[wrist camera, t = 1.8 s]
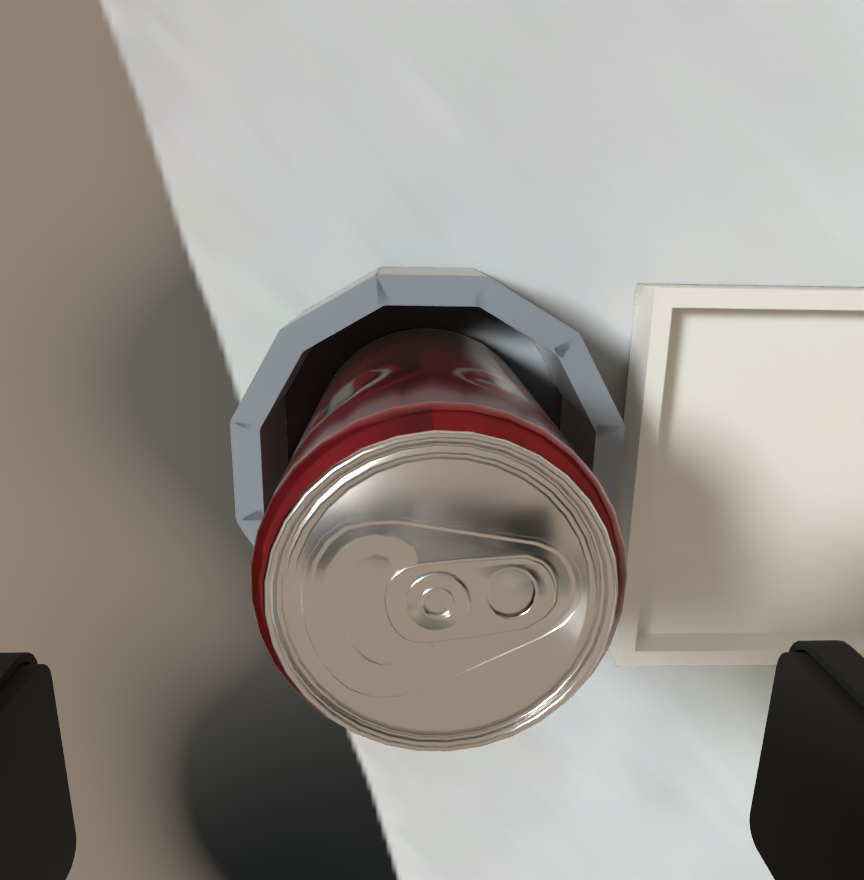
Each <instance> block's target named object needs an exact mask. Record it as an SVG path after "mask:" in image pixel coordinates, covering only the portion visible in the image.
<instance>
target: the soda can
mask: <svg viewBox="0 0 864 880" xmlns="http://www.w3.org/2000/svg"><path fill="white" fill-rule="evenodd" d="M626 581H627V565H626V552H625V541H624V538H623V535H622V531H621V528H620V525H619V521H618V518H617V515H616V512H615V509H614V507H613V505H612V503H611V502H610V500H609V498H608V496H607V495H606V493H605V491H604V489H603V487H602V486H601V484H600V482H599V480H598V479H597V477H596V476H595V475H594V474H593V472H592V471H591V470H590V468H589V467H588V466H587V465H586V463H585V462H584V461H583V460H582V458H581V457H580V456H579V455H578V453H577V452H576V451H575V449H574V448H573V447H572V446H571V444H570V443H569V442H568V441H567V439H566V438H565V437H564V436H563V434H562V433H561V432H560V430H559V429H558V428H557V427H556V425H555V424H554V423H553V422H552V420H551V419H550V418H549V417H548V415H547V414H546V413H545V411H544V410H543V409H542V408H541V406H540V405H539V404H538V403H537V401H536V400H535V399H534V398H533V396H532V395H531V394H530V392H529V391H528V390H527V389H526V387H525V386H524V385H523V384H522V382H521V381H520V380H519V379H518V377H517V376H516V375H515V373H514V372H513V371H512V370H511V369H510V368H509V367H508V365H507V364H506V363H505V362H504V361H503V360H502V359H501V358H500V357H499V356H498V355H497V354H495V353H494V352H493V351H491V350H490V349H489V348H487V347H486V346H485V345H483V344H482V343H480V342H477V341H475V340H473V339H471V338H469V337H467V336H465V335H463V334H459V333H454V332H450V331H446V330H442V329H425V328H418V329H411V330H405V331H398V332H395V333H392V334H389V335H387V336H384V337H381V338H378V339H376V340H374V341H373V342H371V343H369V344H368V345H366V346H365V347H363V348H361V349H360V350H358V351H357V352H356V353H355V354H354V355H353V356H351V357H350V358H349V359H348V360H347V361H346V362H345V363H344V364H343V365H342V366H341V367H340V369H339V370H338V371H337V373H336V374H335V376H334V377H333V378H332V380H331V381H330V383H329V385H328V387H327V389H326V391H325V393H324V395H323V397H322V399H321V401H320V403H319V404H318V406H317V408H316V410H315V412H314V414H313V416H312V418H311V420H310V422H309V424H308V426H307V428H306V430H305V432H304V434H303V436H302V438H301V440H300V442H299V444H298V446H297V448H296V450H295V452H294V454H293V456H292V458H291V460H290V462H289V464H288V466H287V468H286V470H285V472H284V474H283V476H282V478H281V480H280V482H279V484H278V486H277V488H276V490H275V492H274V494H273V496H272V498H271V501H270V503H269V505H268V507H267V510H266V512H265V514H264V516H263V519H262V521H261V523H260V525H259V528H258V530H257V535H256V540H255V545H254V550H253V555H252V560H251V599H252V603H253V607H254V611H255V616H256V620H257V624H258V628H259V631H260V634H261V636H262V638H263V640H264V643H265V645H266V647H267V649H268V651H269V653H270V655H271V657H272V659H273V661H274V663H275V665H276V667H277V668H278V669H279V670H280V672H281V673H282V674H283V676H284V677H285V678H286V680H287V681H288V682H289V683H290V685H291V686H292V687H293V689H294V690H295V691H296V692H297V693H298V694H299V695H300V696H302V697H303V698H304V699H305V700H306V701H307V702H308V703H309V704H311V705H312V706H313V707H314V708H315V709H316V710H317V711H319V712H320V713H321V714H323V715H324V716H326V717H328V718H329V719H331V720H333V721H335V722H336V723H338V724H340V725H341V726H343V727H345V728H346V729H348V730H350V731H352V732H353V733H355V734H358V735H361V736H363V737H366V738H369V739H371V740H374V741H377V742H380V743H382V744H385V745H390V746H396V747H401V748H406V749H412V750H417V751H453V750H460V749H466V748H473V747H480V746H484V745H487V744H490V743H493V742H496V741H499V740H502V739H505V738H508V737H511V736H513V735H515V734H517V733H519V732H521V731H523V730H525V729H527V728H529V727H531V726H533V725H534V724H536V723H538V722H540V721H542V720H543V719H544V718H546V717H547V716H548V715H550V714H551V713H552V712H553V711H555V710H556V709H557V708H559V707H560V706H561V705H563V704H564V703H565V702H566V701H567V700H568V699H570V698H571V697H572V696H573V695H574V694H575V693H576V691H577V690H578V689H579V688H580V687H581V686H582V685H583V684H584V683H585V681H586V680H587V679H588V678H589V677H590V676H591V675H592V674H593V673H594V671H595V669H596V668H597V666H598V664H599V663H600V661H601V659H602V658H603V656H604V655H605V653H606V651H607V650H608V648H609V646H610V645H611V642H612V639H613V637H614V634H615V631H616V628H617V625H618V623H619V620H620V617H621V614H622V610H623V603H624V596H625V588H626Z"/></svg>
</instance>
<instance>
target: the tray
mask: <svg viewBox="0 0 864 880" xmlns="http://www.w3.org/2000/svg"><path fill="white" fill-rule="evenodd" d="M624 425H625V429H624V439H623V450H622V460H621V471H620V481H619V492H618V502H617V513H616V515H617V518H618V521H619V525H620V528H621V531H622V535H623V538H624V541H625V552H626V565H627V581H626V588H625V596H624V603H623V610H622V614H621V617H620V620H619V623H618V625H617V628H616V631H615V634H614V637H613V639H612V642H611V645H610V646H609V648H608V650H609V652H610V654H611V656H612V658H613V660H614V662H615V664H616V666H747V665H777V662H778V659H779V657H780V655H781V654H782V653H785V652H789V649H790V647H791V646H792V645H793V643H795V642H797V641H811V640H840V641H844V642H846V643H847V644H849V645H850V646H851V647H853V648H854V649H855V650H856V651H857V652H858V653H859V654H860V655H861V656H862V657H864V287H825V286H763V285H701V284H640V283H637V286H636V296H635V307H634V317H633V328H632V338H631V349H630V359H629V370H628V381H627V391H626V402H625V412H624Z"/></svg>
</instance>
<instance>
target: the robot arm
mask: <svg viewBox="0 0 864 880" xmlns="http://www.w3.org/2000/svg"><path fill="white" fill-rule="evenodd" d="M72 813H73V812H72V806H71V800H70V793H69V787H68V780H67V773H66V767H65V760H64V754H63V747H62V741H61V734H60V728H59V721H58V715H57V708H56V702H55V695H54V689H53V682H52V676H51V672H50V669H49V668H48V666H46V665H45V664H37V660H36V658H35V657H34V655H33V654H30V653H28V652H27V653H25V652H24V653H0V880H65V879H66V878H67V876H68V873H69V871H70V869H71V866H72V863H73V859H74V856H75V850H76V832H75V826H74V819H73V814H72ZM750 830H751V834H752V838H753V841H754V844H755V846H756V848H757V850H758V852H759V853H760V855H761V857H762V859H763V860H764V862H765V864H766V865H767V867H768V869H769V870H770V872H771V874H772V876H773V877H774V879H775V880H864V657H862V656H861V655H860V654H859V653H858V652H857V651H856V650H855V649H854V648H853V647H851V646H850V645H849V644H847V643H846V642H844V641H840V640H811V641H797V642H795V643H793V645H792V646H791V647H790V649H789V652H785V653H782V654H781V655H780V657H779V659H778V662H777V667H776V672H775V678H774V683H773V689H772V694H771V700H770V706H769V711H768V717H767V722H766V728H765V733H764V739H763V745H762V750H761V756H760V761H759V767H758V772H757V778H756V784H755V789H754V795H753V800H752V806H751V812H750Z"/></svg>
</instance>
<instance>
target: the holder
mask: <svg viewBox="0 0 864 880" xmlns="http://www.w3.org/2000/svg"><path fill="white" fill-rule="evenodd" d="M384 305H402V306H469V307H480V308H482V309H484V310H485V311H487V312H488V313H490V314H492V315H493V316H495V317H497V318H498V319H500V320H501V321H503V322H505V323H506V324H508V325H510V326H511V327H513V328H515V329H516V330H518V331H519V332H521V333H523V334H524V335H526V336H528V337H529V338H531V339H532V340H533V341H534V343H535V345H536V347H537V349H538V351H539V353H540V354H541V356H542V358H543V360H544V362H545V364H546V366H547V368H548V370H549V372H550V374H551V376H552V378H553V380H554V382H555V384H556V386H557V388H558V390H559V391H560V393H561V395H562V409H561V423H560V432H561V433H562V434H563V436H564V437H565V438H566V439H567V441H568V442H569V443H570V444H571V446H572V447H573V448H574V449H575V451H576V452H577V453H578V455H579V456H580V457H581V458H582V460H583V461H584V462H585V463H586V465H587V466H588V467H589V468H590V470H591V471H592V472H593V474H594V475H595V476H596V477H597V479H598V480H599V482H600V484H601V486H602V487H603V489H604V491H605V493H606V495H607V496H608V498H609V500H610V502H611V503H612V505H613V507H614V509H615V512H616V513H617V502H618V492H619V481H620V471H621V460H622V450H623V439H624V429H625V425H624V422H623V420H622V418H621V416H620V414H619V412H618V410H617V408H616V406H615V404H614V402H613V400H612V398H611V396H610V394H609V392H608V390H607V388H606V386H605V383H604V381H603V379H602V377H601V375H600V373H599V371H598V369H597V367H596V365H595V363H594V361H593V359H592V357H591V355H590V353H589V351H588V349H587V347H586V345H585V343H584V341H583V339H582V337H581V335H580V334H579V333H578V332H577V331H575V330H574V329H572V328H570V327H569V326H567V325H566V324H564V323H562V322H561V321H559V320H558V319H556V318H554V317H553V316H551V315H550V314H548V313H546V312H545V311H543V310H542V309H540V308H538V307H537V306H535V305H534V304H532V303H530V302H529V301H527V300H526V299H524V298H522V297H521V296H519V295H518V294H516V293H514V292H513V291H511V290H510V289H508V288H506V287H505V286H503V285H502V284H500V283H498V282H497V281H495V280H494V279H492V278H490V277H489V276H487V275H485V274H483V273H481V272H479V271H477V270H475V269H472V268H434V267H382V268H381V267H380V268H378V269H376V270H375V271H373V272H371V273H369V274H368V275H366V276H364V277H362V278H361V279H359V280H357V281H355V282H354V283H352V284H350V285H349V286H347V287H345V288H343V289H342V290H340V291H338V292H336V293H335V294H333V295H331V296H329V297H328V298H326V299H324V300H322V301H321V302H319V303H317V304H316V305H314V306H312V307H310V308H309V309H307V310H305V311H303V312H302V313H301V314H300V315H298V316H297V317H296V318H294V319H293V320H292V321H291V322H289V323H288V324H287V325H285V326H284V327H283V328H281V330H280V331H279V332H278V334H277V336H276V338H275V340H274V342H273V344H272V345H271V347H270V349H269V351H268V353H267V355H266V356H265V358H264V360H263V362H262V364H261V366H260V367H259V369H258V371H257V373H256V375H255V377H254V378H253V380H252V382H251V384H250V386H249V388H248V389H247V391H246V393H245V395H244V397H243V399H242V401H241V402H240V404H239V406H238V408H237V410H236V412H235V413H234V415H233V417H232V419H231V422H230V428H231V429H230V430H231V445H232V462H233V477H234V494H235V511H236V520H237V523H238V525H239V526H240V527H241V529H242V530H243V532H244V533H245V535H246V536H247V538H248V539H249V541H250V542H251V543H252V545H253V546H254V545H255V540H256V535H257V530H258V528H259V525H260V523H261V521H262V519H263V516H264V514H265V512H266V510H267V507H268V505H269V503H270V501H271V498H272V496H273V494H274V492H275V490H276V488H277V486H278V484H279V482H280V480H281V478H282V476H283V474H284V472H285V470H286V468H287V466H288V444H287V419H286V393H287V391H288V389H289V387H290V386H291V384H292V382H293V380H294V378H295V377H296V375H297V373H298V371H299V369H300V368H301V366H302V364H303V362H304V360H305V359H306V357H307V355H308V353H309V351H310V350H311V348H312V346H314V345H315V344H317V343H319V342H321V341H322V340H324V339H326V338H328V337H329V336H331V335H333V334H335V333H336V332H338V331H340V330H342V329H343V328H345V327H347V326H349V325H350V324H352V323H354V322H356V321H357V320H359V319H361V318H363V317H365V316H366V315H368V314H370V313H372V312H373V311H375V310H377V309H379V308H380V307H382V306H384Z"/></svg>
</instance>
